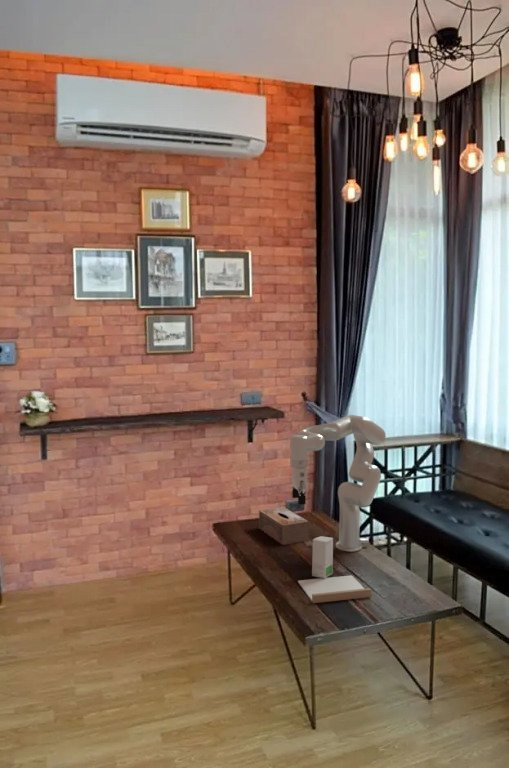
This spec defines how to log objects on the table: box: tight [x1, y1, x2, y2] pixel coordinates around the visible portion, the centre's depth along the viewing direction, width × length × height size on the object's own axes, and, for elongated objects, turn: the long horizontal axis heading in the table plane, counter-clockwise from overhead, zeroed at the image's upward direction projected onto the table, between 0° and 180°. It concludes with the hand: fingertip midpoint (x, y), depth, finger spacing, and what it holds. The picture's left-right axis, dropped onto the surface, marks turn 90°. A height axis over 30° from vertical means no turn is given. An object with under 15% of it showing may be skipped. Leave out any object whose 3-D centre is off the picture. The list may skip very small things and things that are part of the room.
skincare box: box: [311, 535, 334, 579], centre depth 256 cm, size 8×7×16 cm
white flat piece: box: [297, 575, 372, 604], centre depth 243 cm, size 24×19×3 cm
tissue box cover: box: [258, 506, 310, 546], centre depth 306 cm, size 26×14×10 cm, turn 26°
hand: (298, 500), depth 266 cm, fingers open, 9 cm apart
